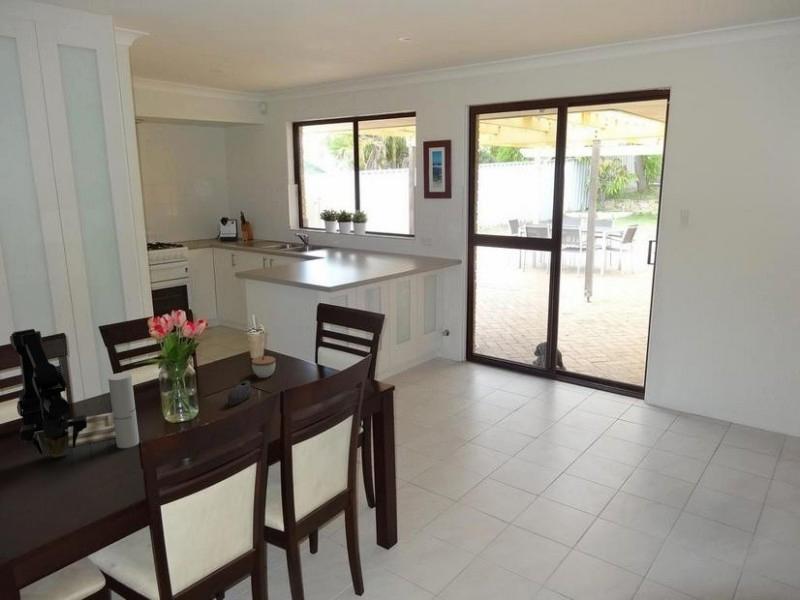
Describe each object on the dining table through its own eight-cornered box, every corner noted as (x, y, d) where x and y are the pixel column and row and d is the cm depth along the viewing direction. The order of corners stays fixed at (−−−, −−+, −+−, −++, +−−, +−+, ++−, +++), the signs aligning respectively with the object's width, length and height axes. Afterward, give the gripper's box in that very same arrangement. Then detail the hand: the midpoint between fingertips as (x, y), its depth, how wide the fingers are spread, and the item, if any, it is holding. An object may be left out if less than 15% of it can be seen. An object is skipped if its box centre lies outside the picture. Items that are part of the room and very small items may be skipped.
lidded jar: (273, 379, 258) (272, 360, 256) (249, 379, 259) (248, 360, 257) (278, 371, 269) (277, 352, 267) (256, 371, 269) (254, 352, 267)
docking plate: (56, 449, 194) (55, 442, 194) (59, 424, 213) (58, 418, 213) (127, 435, 204) (126, 428, 204) (124, 413, 223) (123, 407, 223)
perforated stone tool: (234, 409, 227) (232, 393, 225) (223, 407, 228) (221, 391, 227) (255, 395, 241) (254, 380, 239) (245, 394, 242) (243, 378, 241)
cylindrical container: (143, 440, 201) (136, 373, 195) (128, 449, 194) (119, 380, 188) (127, 437, 203) (119, 371, 197) (112, 446, 196) (103, 378, 191)
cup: (45, 463, 185) (41, 441, 183) (46, 454, 191) (43, 432, 189) (71, 458, 188) (68, 436, 186) (72, 449, 195) (69, 427, 193)
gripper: (14, 422, 175) (22, 468, 178) (83, 410, 183) (89, 454, 187) (18, 409, 184) (26, 453, 188) (83, 398, 193) (89, 440, 196)
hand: (58, 450), depth 189 cm, fingers open, 9 cm apart
